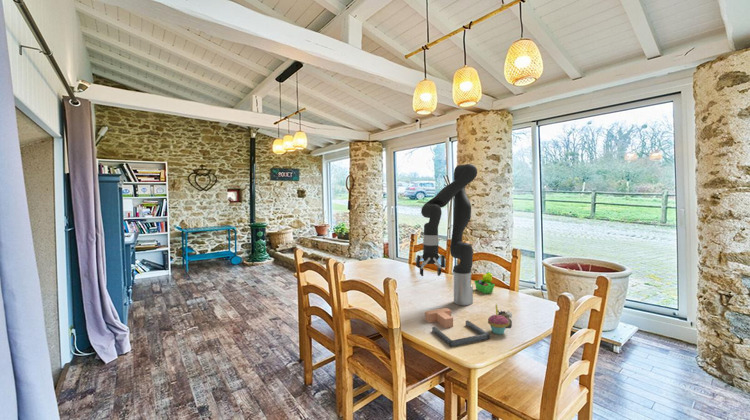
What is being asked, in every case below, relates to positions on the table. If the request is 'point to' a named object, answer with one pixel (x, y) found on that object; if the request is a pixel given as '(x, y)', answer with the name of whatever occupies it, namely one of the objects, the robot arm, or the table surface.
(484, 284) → the fruit basket
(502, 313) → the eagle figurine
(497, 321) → the cupcake
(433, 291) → the table surface
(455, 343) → the rail bay
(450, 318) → the T-block
